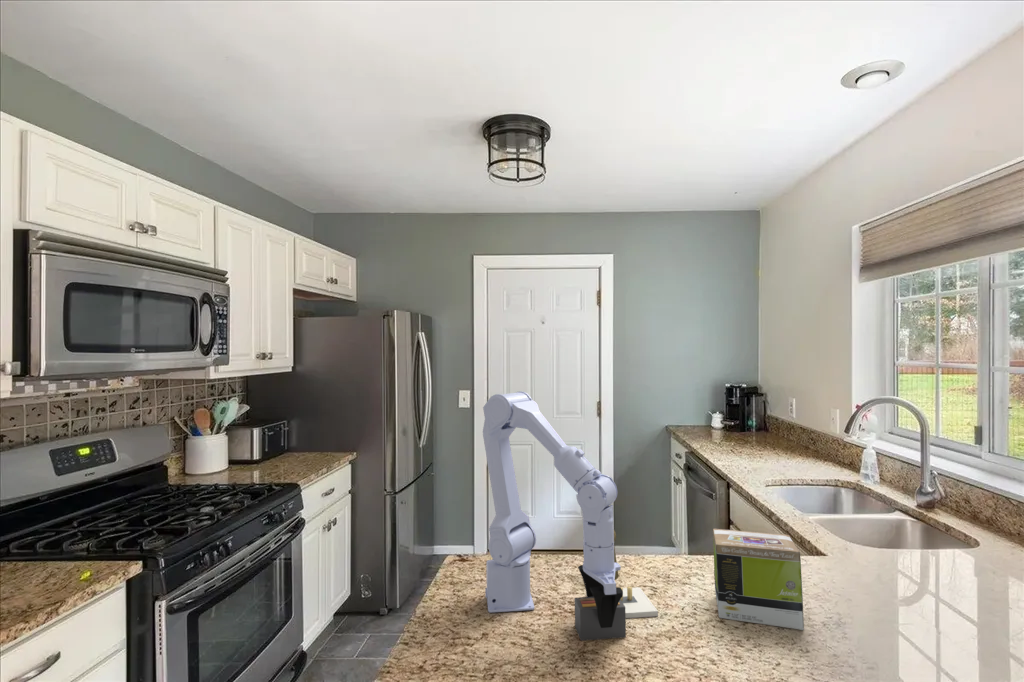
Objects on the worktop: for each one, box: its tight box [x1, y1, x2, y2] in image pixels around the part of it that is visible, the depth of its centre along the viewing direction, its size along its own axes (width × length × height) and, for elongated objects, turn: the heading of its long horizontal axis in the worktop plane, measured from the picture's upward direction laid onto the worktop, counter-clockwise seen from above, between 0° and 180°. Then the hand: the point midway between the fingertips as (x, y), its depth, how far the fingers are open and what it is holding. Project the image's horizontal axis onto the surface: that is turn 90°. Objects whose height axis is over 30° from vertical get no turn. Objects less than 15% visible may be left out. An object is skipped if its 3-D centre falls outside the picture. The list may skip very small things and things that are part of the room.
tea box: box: [712, 528, 805, 631], centre depth 98 cm, size 15×10×15 cm, turn 71°
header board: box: [585, 586, 659, 619], centre depth 101 cm, size 12×10×4 cm
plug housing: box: [574, 596, 627, 641], centre depth 92 cm, size 8×4×6 cm, turn 96°
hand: (600, 615), depth 92 cm, fingers open, 7 cm apart
